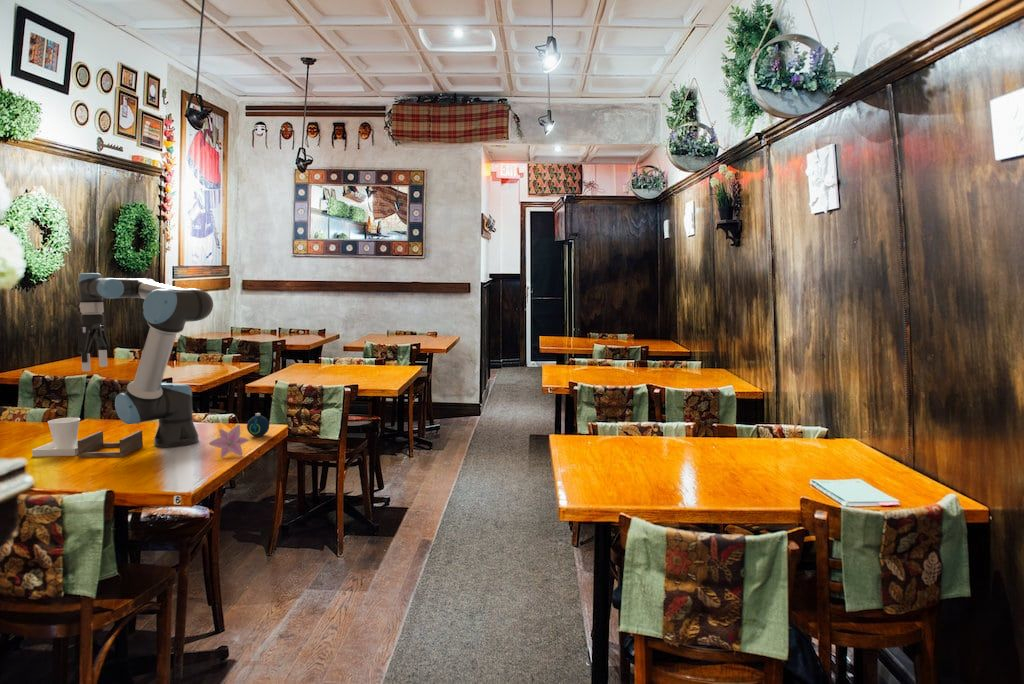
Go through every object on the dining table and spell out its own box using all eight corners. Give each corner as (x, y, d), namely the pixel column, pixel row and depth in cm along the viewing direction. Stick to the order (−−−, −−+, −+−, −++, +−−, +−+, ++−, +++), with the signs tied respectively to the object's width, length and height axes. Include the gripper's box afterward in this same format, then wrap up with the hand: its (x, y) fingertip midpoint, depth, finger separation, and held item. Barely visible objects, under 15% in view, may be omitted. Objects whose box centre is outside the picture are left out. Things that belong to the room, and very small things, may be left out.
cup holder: (142, 446, 246) (142, 430, 245) (123, 456, 231) (122, 439, 230) (100, 446, 244) (100, 431, 244) (78, 457, 229) (77, 440, 229)
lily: (204, 459, 232) (206, 439, 227) (220, 439, 242) (222, 419, 237) (237, 469, 232) (240, 449, 228) (251, 449, 243) (254, 429, 238)
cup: (65, 454, 232) (63, 423, 231) (42, 452, 234) (40, 422, 233) (88, 447, 242) (87, 418, 241) (66, 445, 244) (64, 416, 243)
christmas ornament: (242, 437, 260) (241, 412, 259) (257, 433, 268) (256, 409, 267) (259, 439, 257) (258, 414, 257) (274, 434, 265) (273, 410, 264)
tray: (96, 445, 246) (96, 439, 245) (75, 455, 232) (74, 449, 231) (56, 446, 244) (56, 440, 244) (32, 456, 230) (32, 449, 230)
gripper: (97, 312, 260) (100, 365, 262) (64, 315, 236) (67, 373, 237) (117, 312, 261) (120, 364, 263) (86, 315, 237) (89, 372, 239)
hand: (95, 368), depth 250 cm, fingers open, 13 cm apart
